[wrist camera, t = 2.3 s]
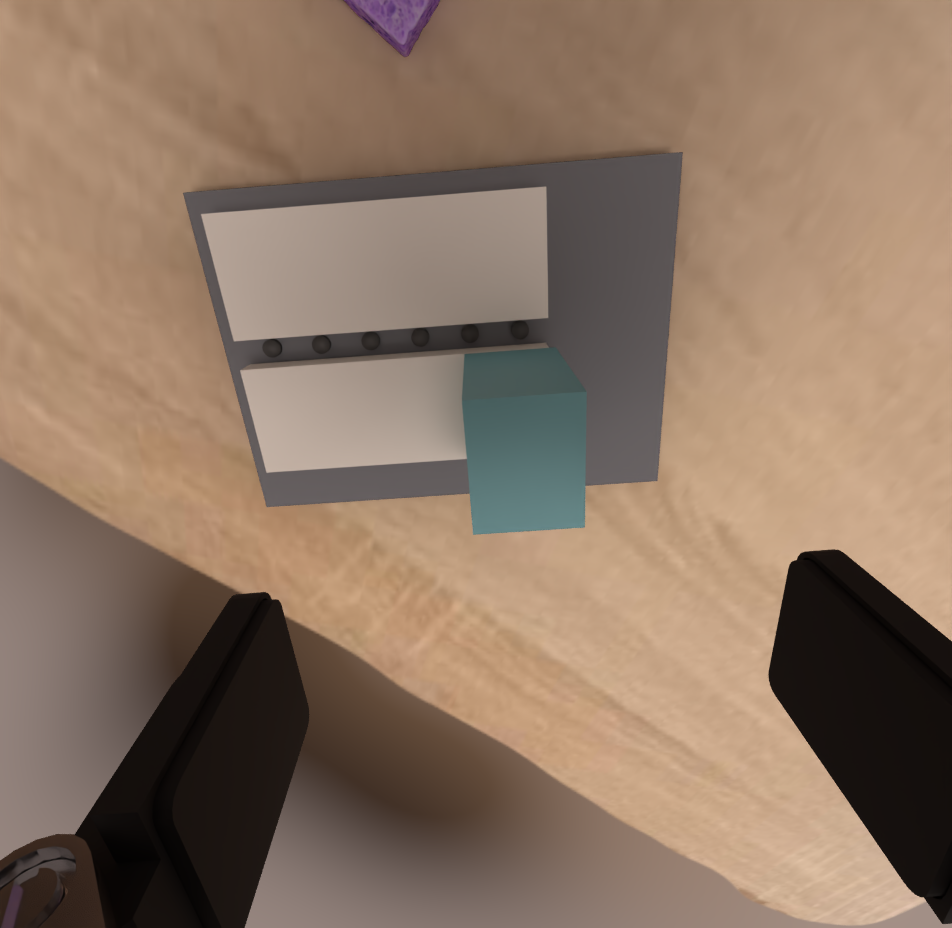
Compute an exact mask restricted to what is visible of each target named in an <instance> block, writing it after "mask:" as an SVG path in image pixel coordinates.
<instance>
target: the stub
mask: <svg viewBox="0 0 952 928" xmlns="http://www.w3.org/2000/svg"><path fill="white" fill-rule="evenodd" d="M240 372H241V376H242V380H243V384H244V388H245V391H246V395H247V399H248V403H249V407H250V411H251V415H252V418H253V422H254V426H255V430H256V434H257V438H258V442H259V445H260V449H261V453H262V457H263V461H264V465H265V469H266V472H267V473H269V472H283V471H298V470H313V469H327V468H342V467H356V466H371V465H386V464H400V463H415V462H429V461H444V460H459V459H467V467H468V479H469V490H470V502H471V514H472V525H473V535H475V534H491V533H506V532H521V531H537V530H552V529H568V528H583V527H585V476H586V409H587V391H586V390H585V388H584V387H583V386H582V384H581V383H580V381H579V380H578V378H577V377H576V376H575V374H574V373H573V371H572V370H571V368H570V367H569V366H568V364H567V363H566V361H565V360H564V358H563V357H562V356H561V354H560V353H559V351H558V350H557V348H556V347H553V348H549V347H548V345H547V344H546V343H533V344H520V345H506V346H492V347H479V348H465V349H451V350H438V351H424V352H410V353H397V354H383V355H370V356H356V357H342V358H329V359H315V360H301V361H288V362H274V363H260V364H250V365H248V366H246V367H245V368H243V369H241V370H240Z"/></svg>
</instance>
